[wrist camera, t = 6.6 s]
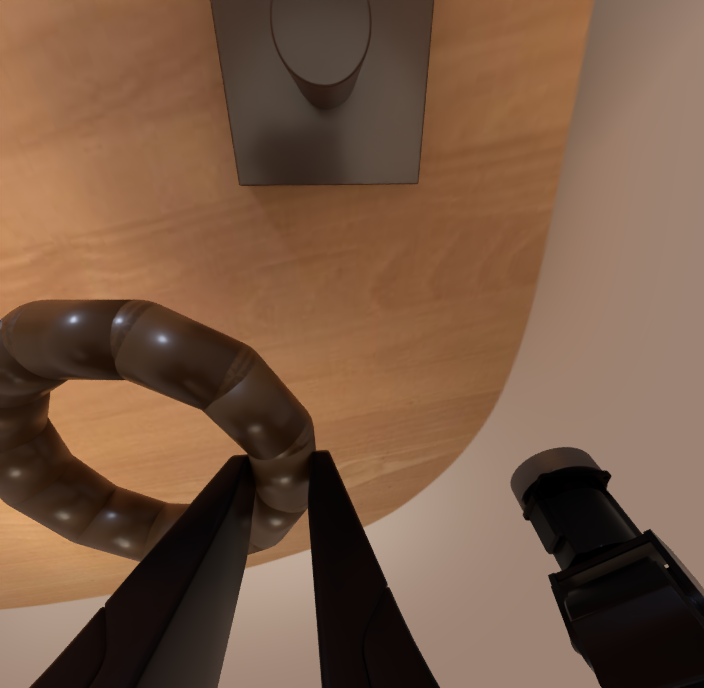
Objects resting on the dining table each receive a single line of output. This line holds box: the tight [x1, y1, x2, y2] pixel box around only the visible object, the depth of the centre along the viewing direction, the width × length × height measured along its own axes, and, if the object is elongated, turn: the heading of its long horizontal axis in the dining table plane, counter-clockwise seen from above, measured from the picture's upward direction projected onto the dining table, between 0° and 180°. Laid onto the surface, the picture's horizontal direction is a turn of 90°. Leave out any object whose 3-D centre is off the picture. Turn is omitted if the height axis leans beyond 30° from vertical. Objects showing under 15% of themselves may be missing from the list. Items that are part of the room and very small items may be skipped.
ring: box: [0, 300, 316, 562], centre depth 9 cm, size 8×8×2 cm
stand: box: [210, 0, 434, 186], centre depth 11 cm, size 8×8×7 cm
